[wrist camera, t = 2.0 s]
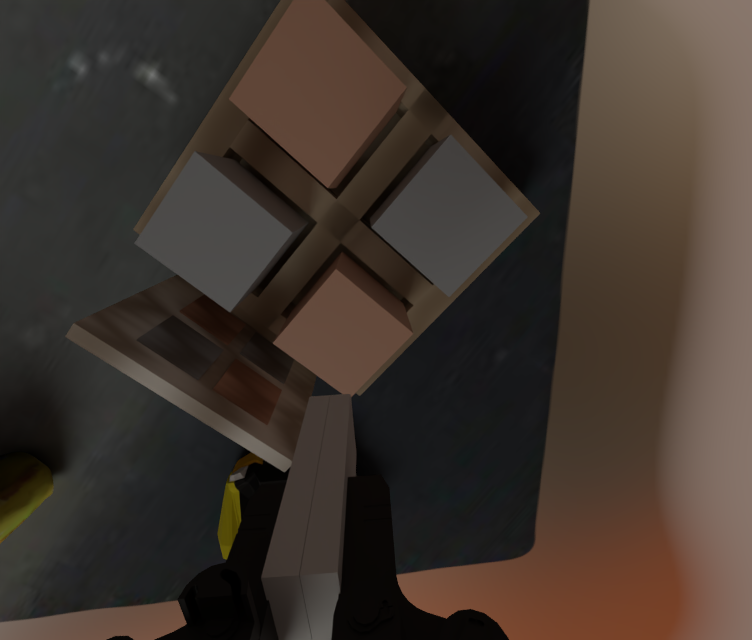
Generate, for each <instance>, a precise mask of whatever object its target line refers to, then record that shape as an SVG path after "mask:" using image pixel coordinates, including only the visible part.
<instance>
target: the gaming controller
mask: <svg viewBox="0 0 752 640" xmlns="http://www.w3.org/2000/svg"><path fill="white" fill-rule="evenodd" d="M290 468H291V467H290ZM290 468H289V469H288V470H287V471H286V472H283V471H281V470H280V469H278V468H277V467H275V466H273V465H272V464H270V463H268V462H267V461H265V460H264V459H262V458H260V457H259V456H257V455H256V454H254V453H252V452H251V453H249V454H247V455H246V456H244V457H243V458H241V459H240V460H238V461H237V463H236V465H235V466H234V467H233V469H232V471H231V473H230V475H229V477H228V479H227V482H226V487H225V493H224V498H223V504H222V510H221V516H220V522H219V528H218V538H219V542H220V547H221V551H222V555H223V558H224V559H227V558H228V555H229V552H230V549H231V547H232V544H233V541H234V539H235V536H236V534H237V533H238V528H239V525H240V523H241V520H242V519H243V515H244V512H245V509H246V507H247V504H248V501H249V499H250V498H251V496H252V495H253V494H254V493H255V492H256V490H257V489H258V488H259V487H260V486H261V484H270V483H284V482H287V479H288V475H289V472H290ZM356 476H357V474H356Z"/></svg>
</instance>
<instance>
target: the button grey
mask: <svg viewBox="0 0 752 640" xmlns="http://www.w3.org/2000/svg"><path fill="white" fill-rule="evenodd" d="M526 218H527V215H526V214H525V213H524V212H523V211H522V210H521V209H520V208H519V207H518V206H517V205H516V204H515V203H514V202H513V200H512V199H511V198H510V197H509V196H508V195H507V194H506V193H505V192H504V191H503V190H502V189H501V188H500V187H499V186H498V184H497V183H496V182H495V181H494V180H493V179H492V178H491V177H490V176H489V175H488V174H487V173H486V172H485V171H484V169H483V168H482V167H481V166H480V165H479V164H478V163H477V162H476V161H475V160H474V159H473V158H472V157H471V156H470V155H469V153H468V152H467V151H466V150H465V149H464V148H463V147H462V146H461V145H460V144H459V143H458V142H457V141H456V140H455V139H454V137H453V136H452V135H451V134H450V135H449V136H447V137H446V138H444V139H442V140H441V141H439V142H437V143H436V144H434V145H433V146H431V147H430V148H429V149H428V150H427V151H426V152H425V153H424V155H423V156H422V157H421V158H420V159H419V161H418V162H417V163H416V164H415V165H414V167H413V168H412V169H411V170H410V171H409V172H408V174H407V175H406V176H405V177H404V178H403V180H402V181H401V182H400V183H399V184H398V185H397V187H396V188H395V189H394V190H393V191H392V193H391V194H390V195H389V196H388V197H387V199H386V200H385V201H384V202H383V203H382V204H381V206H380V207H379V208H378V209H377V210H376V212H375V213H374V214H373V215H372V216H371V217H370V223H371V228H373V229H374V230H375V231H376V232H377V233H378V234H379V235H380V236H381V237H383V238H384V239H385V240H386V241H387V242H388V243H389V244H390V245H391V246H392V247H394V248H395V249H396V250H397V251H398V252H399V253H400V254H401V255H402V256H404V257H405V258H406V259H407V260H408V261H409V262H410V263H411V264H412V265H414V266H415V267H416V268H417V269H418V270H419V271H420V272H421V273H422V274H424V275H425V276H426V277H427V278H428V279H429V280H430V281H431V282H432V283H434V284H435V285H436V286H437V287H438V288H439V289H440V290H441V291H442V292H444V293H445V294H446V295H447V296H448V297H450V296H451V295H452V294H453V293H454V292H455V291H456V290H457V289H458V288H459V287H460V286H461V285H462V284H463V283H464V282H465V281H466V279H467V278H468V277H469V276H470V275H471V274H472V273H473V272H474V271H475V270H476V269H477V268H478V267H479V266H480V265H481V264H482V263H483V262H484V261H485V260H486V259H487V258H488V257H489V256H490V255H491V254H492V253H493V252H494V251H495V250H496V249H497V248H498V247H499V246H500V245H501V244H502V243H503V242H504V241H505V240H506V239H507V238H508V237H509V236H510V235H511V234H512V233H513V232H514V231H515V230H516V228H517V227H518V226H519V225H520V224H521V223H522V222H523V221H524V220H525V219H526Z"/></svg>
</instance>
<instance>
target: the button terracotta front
mask: <svg viewBox="0 0 752 640" xmlns="http://www.w3.org/2000/svg"><path fill="white" fill-rule="evenodd" d="M406 88H407V87H406V86H405V85H404V84H403V83H402V82H401V81H400V80H399V79H398V78H397V77H396V75H395V74H394V73H393V72H392V71H391V70H390V69H389V68H388V67H387V66H386V65H385V64H384V63H383V62H382V60H381V59H380V58H379V57H378V56H377V55H376V54H375V53H374V52H373V51H372V50H371V49H370V48H369V47H368V46H367V44H366V43H365V42H364V41H363V40H362V39H361V38H360V37H359V36H358V35H357V34H356V33H355V32H354V31H353V29H352V28H351V27H350V26H349V25H348V24H347V23H346V22H345V21H344V20H343V19H342V18H341V17H340V16H339V15H338V13H337V12H336V11H335V10H334V9H333V8H332V7H331V6H330V5H329V4H328V3H327V2H326V1H325V0H293V1H292V3H291V4H290V6H289V7H288V9H287V10H286V12H285V14H284V15H283V17H282V18H281V20H280V21H279V23H278V24H277V26H276V27H275V29H274V30H273V32H272V33H271V35H270V37H269V38H268V40H267V41H266V43H265V44H264V46H263V47H262V49H261V50H260V52H259V53H258V55H257V56H256V58H255V60H254V61H253V63H252V64H251V66H250V67H249V69H248V70H247V72H246V73H245V75H244V76H243V78H242V79H241V81H240V82H239V84H238V86H237V87H236V89H235V90H234V92H233V93H232V95H231V96H230V98H229V100H230V101H232V102H233V103H234V104H235V105H236V106H237V107H238V108H239V109H240V110H242V111H243V112H244V113H245V114H246V115H247V116H248V117H249V118H250V119H252V120H253V121H254V122H255V123H256V124H257V125H258V126H259V127H260V128H261V129H263V130H264V131H265V132H266V133H267V134H268V135H269V136H270V137H271V138H273V139H274V140H275V141H276V142H277V143H278V144H279V145H280V146H281V147H283V148H284V149H285V150H286V151H287V152H288V153H289V154H290V155H291V156H293V157H294V158H295V159H296V160H297V161H298V162H299V163H300V164H301V165H303V166H304V167H305V168H306V169H307V170H308V171H309V172H310V173H311V174H313V175H314V176H315V177H316V178H317V179H318V180H319V181H320V182H321V183H323V184H324V185H325V186H326V187H327V188H337V186H338V185H339V184H340V183H341V181H342V180H343V179H344V178H345V176H346V175H347V174H348V173H349V171H350V170H351V169H352V168H353V166H354V165H355V164H356V162H357V161H358V160H359V159H360V157H361V156H362V155H363V154H364V152H365V151H366V150H367V149H368V147H369V146H370V145H371V144H372V142H373V141H374V140H375V139H376V137H377V136H378V135H379V134H380V132H381V131H382V130H383V128H384V127H385V126H386V125H387V123H388V122H389V121H390V120H391V118H392V117H393V116H394V115H395V113H396V112H397V109H398V107H399V105H400V102H401V100H402V98H403V95H404V93H405V91H406Z"/></svg>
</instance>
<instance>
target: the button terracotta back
mask: <svg viewBox="0 0 752 640" xmlns="http://www.w3.org/2000/svg"><path fill="white" fill-rule="evenodd" d="M413 334H414V333H413V330H412V328H411V325H410V322H409V319H408V316H407V313H406V310H405V307H404V304H403V303H402V302H401V301H400V300H399V299H398V298H397V297H395V296H394V295H393V294H392V293H391V292H390V291H388V290H387V289H386V288H385V287H384V286H383V285H381V284H380V283H379V282H378V281H377V280H376V279H374V278H373V277H372V276H371V275H370V274H369V273H367V272H366V271H365V270H364V269H363V268H362V267H360V266H359V265H358V264H357V263H356V262H354V261H353V260H352V259H351V258H350V257H349V256H347V255H346V254H345V253H344V252H343V251H342V252H341V253H340V254H339V255H338V257H337V258H336V259H335V260H334V261H333V263H332V264H331V265H330V266H329V267H328V268H327V270H326V271H325V272H324V273H323V274H322V276H321V277H320V278H319V279H318V280H317V281H316V283H315V284H314V285H313V286H312V287H311V289H310V290H309V291H308V292H307V293H306V295H305V296H304V297H303V298H302V299H301V300H300V302H299V303H298V304H297V305H296V306H295V308H294V309H293V310H292V311H291V313H290V315H289V316H288V318H287V320H286V321H285V323H284V325H283V327H282V328H281V330H280V332H279V333H278V335H277V337H276V338H275V340H274V342H273V344H274V345H276V346H277V347H278V348H280V349H281V350H283V351H284V352H285V353H287V354H288V355H289V356H291V357H292V358H294V359H295V360H296V361H298V362H299V363H301V364H302V365H303V366H305V367H306V368H307V369H309V370H310V371H312V372H313V373H314V374H316V375H317V376H318V377H320V378H321V379H323V380H324V381H325V382H327V383H328V384H330V385H331V386H332V387H334V388H335V389H336V390H338V391H339V392H341V393H342V394H351V397H352V396H353V395H354V394H355V393H356V392H357V391H358V390H359V389H360V388H361V387H362V386H363V385H364V384H365V382H366V381H367V380H368V379H369V378H370V377H371V376H372V375H373V374H374V373H375V372H376V371H377V370H378V369H379V368H380V367H381V366H382V365H383V364H384V363H385V362H386V361H387V360H388V359H389V358H390V357H391V356H392V355H393V354H394V353H395V352H396V351H397V350H398V349H399V348H400V347H401V346H402V345H403V344H404V343H405V342H406V341H407V340H408V339H409V338H410V337H411V336H412V335H413Z"/></svg>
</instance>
